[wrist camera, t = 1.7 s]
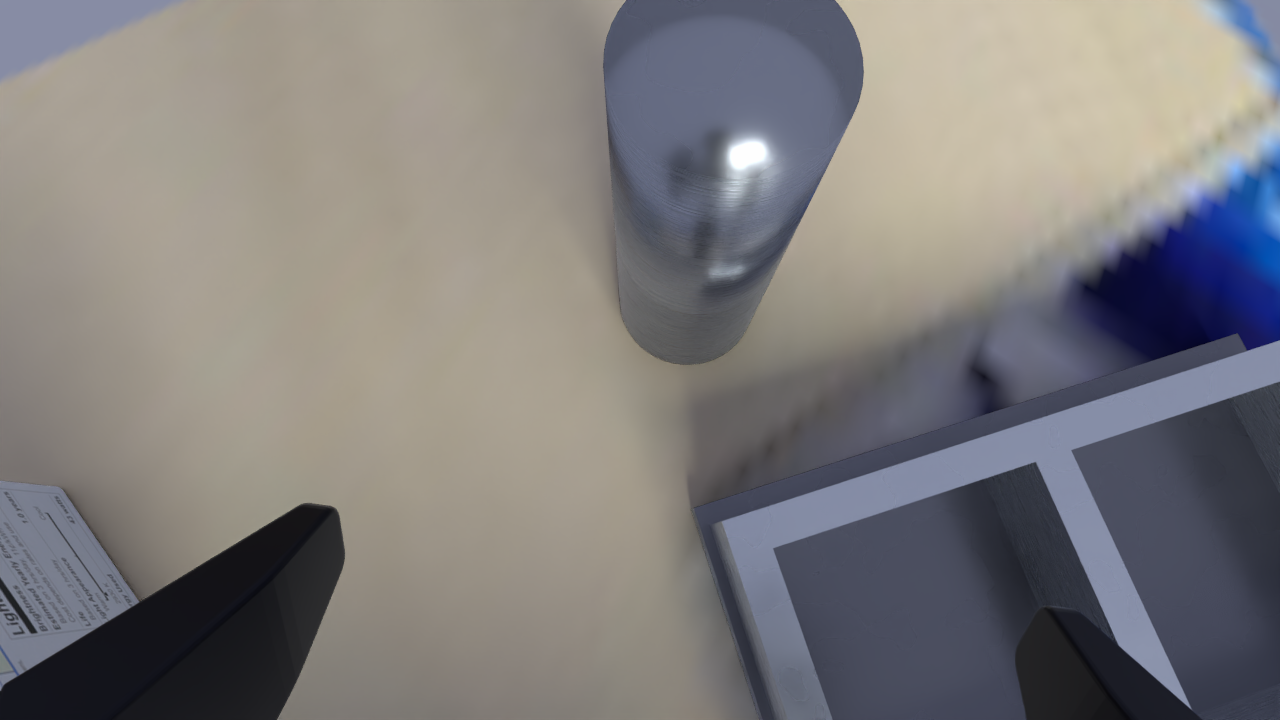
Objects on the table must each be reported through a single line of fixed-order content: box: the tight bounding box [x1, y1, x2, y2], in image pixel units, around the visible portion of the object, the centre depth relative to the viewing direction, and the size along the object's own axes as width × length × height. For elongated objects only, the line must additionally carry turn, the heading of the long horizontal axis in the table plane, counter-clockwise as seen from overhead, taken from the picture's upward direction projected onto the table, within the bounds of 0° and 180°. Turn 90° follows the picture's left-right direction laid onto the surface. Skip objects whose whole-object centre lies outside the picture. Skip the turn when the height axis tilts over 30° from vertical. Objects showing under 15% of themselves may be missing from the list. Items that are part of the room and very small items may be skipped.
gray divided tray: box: [691, 333, 1280, 720], centre depth 19 cm, size 18×11×4 cm, turn 107°
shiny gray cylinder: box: [603, 0, 864, 365], centre depth 18 cm, size 4×4×12 cm
